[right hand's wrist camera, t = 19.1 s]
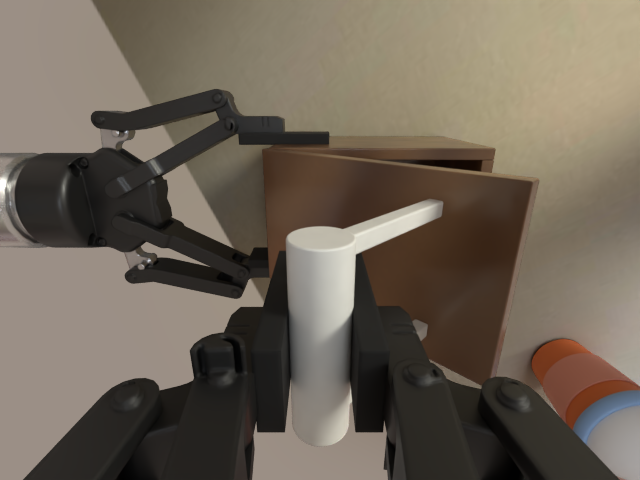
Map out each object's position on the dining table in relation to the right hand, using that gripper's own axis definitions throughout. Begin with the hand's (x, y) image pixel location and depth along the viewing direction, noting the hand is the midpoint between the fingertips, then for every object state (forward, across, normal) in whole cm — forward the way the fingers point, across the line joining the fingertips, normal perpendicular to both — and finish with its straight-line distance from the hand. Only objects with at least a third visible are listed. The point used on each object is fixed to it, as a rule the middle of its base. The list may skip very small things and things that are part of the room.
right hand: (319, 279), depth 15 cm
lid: (+4, +2, 0) cm, 5 cm away
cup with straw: (+21, +28, -21) cm, 41 cm away
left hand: (+14, +1, 0) cm, 14 cm away
